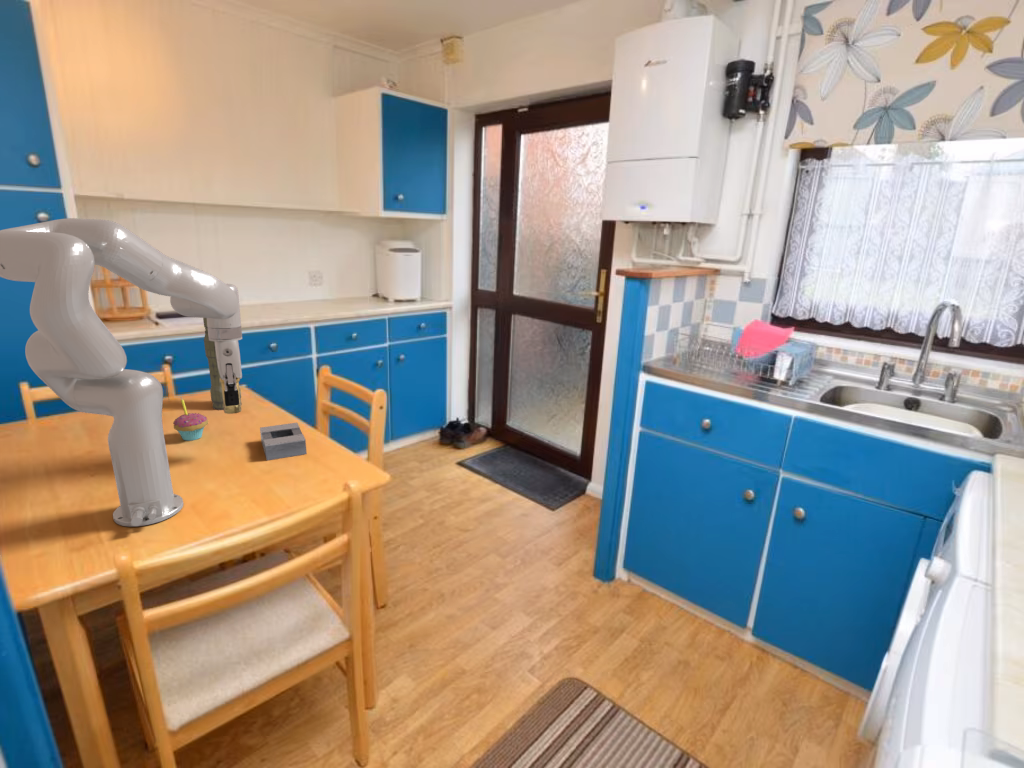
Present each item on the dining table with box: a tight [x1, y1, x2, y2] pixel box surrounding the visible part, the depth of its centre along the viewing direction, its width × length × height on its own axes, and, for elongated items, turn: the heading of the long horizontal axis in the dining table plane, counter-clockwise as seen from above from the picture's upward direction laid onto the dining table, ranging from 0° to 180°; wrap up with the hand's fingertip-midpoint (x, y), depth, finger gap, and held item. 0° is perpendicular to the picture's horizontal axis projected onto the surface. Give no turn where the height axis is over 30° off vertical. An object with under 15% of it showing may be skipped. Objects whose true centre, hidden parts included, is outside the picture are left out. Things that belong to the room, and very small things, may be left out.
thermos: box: [202, 318, 243, 411], centre depth 175 cm, size 9×12×35 cm
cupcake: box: [172, 397, 209, 442], centre depth 152 cm, size 9×8×12 cm
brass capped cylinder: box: [220, 376, 242, 415], centre depth 139 cm, size 5×5×9 cm
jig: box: [259, 422, 308, 461], centre depth 149 cm, size 14×10×4 cm
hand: (231, 402), depth 139 cm, fingers closed on brass capped cylinder, 4 cm apart
